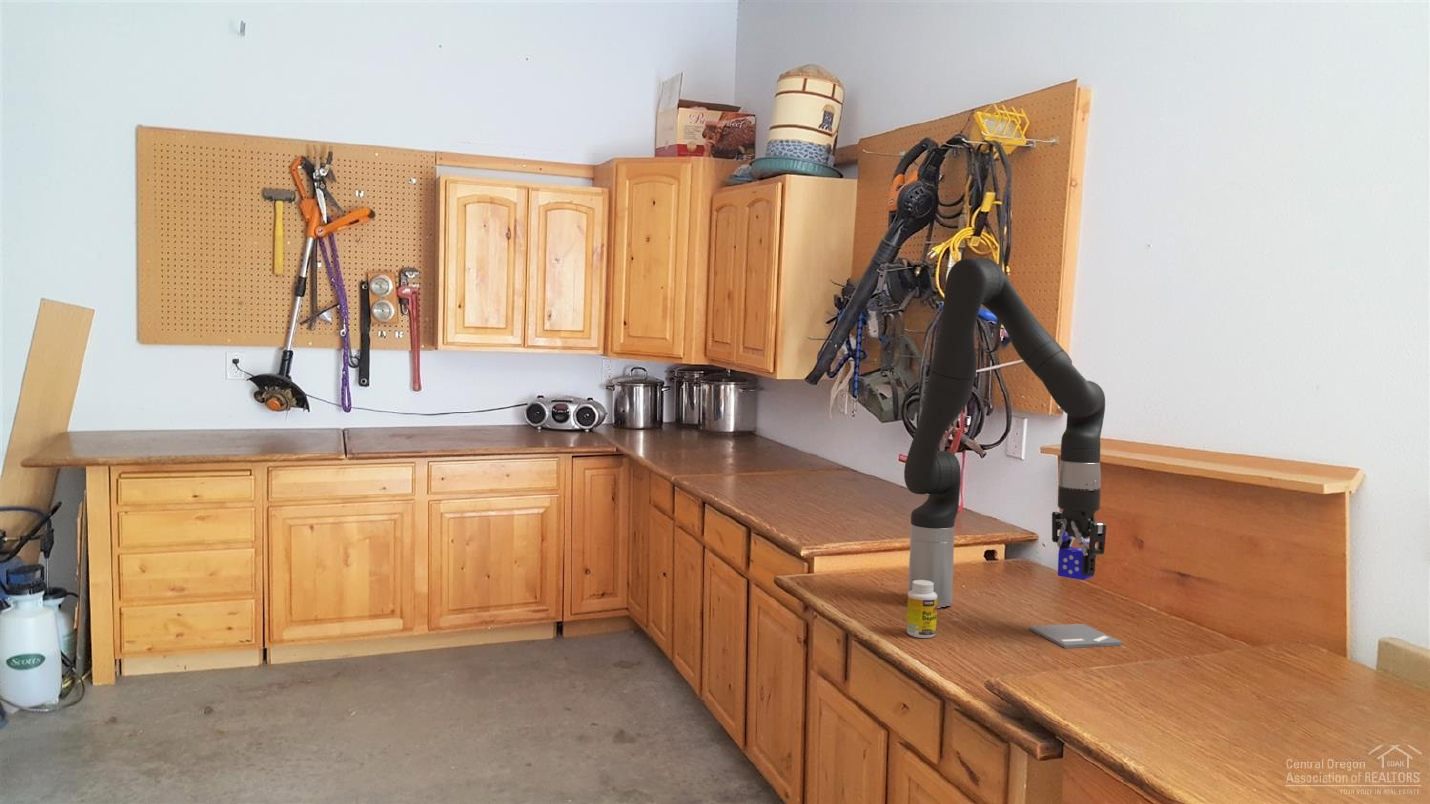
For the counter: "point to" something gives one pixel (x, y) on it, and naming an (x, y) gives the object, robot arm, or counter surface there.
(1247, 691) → the counter surface
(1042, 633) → the tile
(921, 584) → the supplement bottle
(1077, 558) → the die
